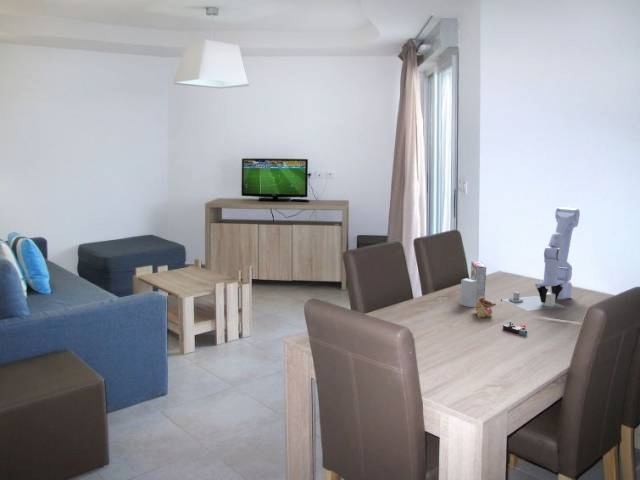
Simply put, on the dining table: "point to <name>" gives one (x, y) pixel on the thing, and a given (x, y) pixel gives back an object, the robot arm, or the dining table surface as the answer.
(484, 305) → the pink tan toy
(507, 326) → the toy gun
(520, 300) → the grey disc
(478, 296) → the candy bar box
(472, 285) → the skincare box
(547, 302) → the knob
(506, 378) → the dining table surface
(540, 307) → the board
